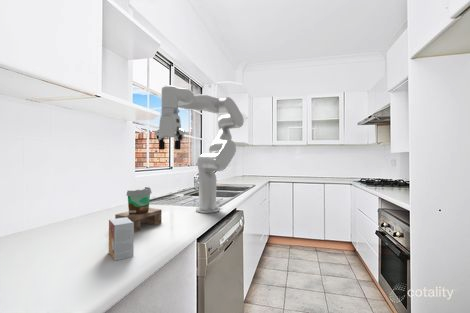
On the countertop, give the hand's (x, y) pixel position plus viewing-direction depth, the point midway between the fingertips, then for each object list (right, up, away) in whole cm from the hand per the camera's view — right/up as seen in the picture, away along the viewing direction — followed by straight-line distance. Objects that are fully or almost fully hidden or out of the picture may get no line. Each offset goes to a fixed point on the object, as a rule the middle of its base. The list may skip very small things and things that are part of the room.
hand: (169, 149), depth 115 cm
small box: (-5, -34, -39) cm, 52 cm away
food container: (-9, -28, -10) cm, 31 cm away
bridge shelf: (-11, -33, -9) cm, 36 cm away
